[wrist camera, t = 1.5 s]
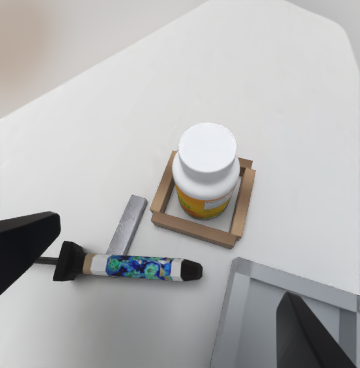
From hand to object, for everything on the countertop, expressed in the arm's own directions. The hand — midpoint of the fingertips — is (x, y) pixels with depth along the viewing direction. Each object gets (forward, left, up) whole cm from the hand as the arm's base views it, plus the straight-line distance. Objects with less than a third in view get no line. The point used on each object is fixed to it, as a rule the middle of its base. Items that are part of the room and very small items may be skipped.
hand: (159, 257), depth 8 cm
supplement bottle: (+5, +6, -14) cm, 16 cm away
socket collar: (+5, +6, -13) cm, 15 cm away
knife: (-12, +6, -13) cm, 19 cm away
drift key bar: (-4, +5, -13) cm, 15 cm away
